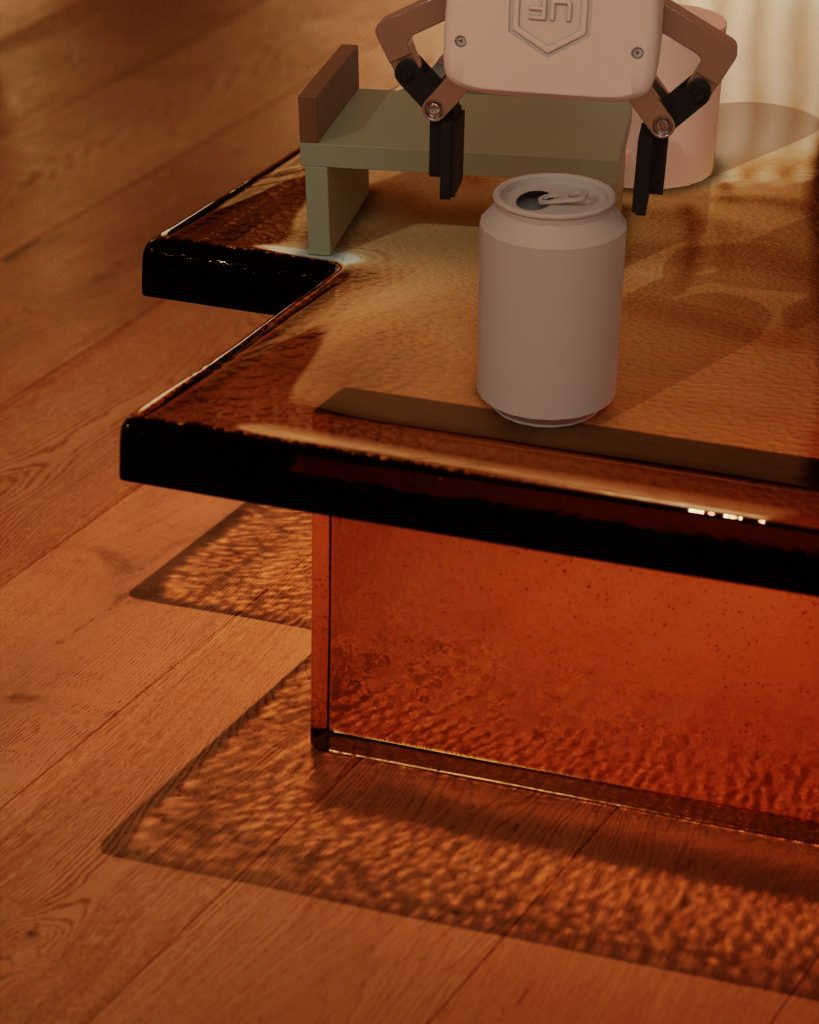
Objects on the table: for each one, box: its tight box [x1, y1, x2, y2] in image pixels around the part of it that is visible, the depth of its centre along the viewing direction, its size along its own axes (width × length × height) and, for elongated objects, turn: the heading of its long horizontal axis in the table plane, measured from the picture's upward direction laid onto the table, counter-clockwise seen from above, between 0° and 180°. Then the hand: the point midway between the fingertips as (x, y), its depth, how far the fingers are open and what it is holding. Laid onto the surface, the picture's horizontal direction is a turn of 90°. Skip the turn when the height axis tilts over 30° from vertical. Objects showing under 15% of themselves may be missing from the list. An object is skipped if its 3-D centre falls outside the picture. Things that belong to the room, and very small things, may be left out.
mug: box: [624, 3, 728, 190], centre depth 115 cm, size 14×10×11 cm
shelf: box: [297, 43, 633, 257], centre depth 105 cm, size 20×12×10 cm, turn 79°
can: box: [476, 173, 628, 429], centre depth 84 cm, size 8×8×12 cm
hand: (545, 198), depth 81 cm, fingers open, 9 cm apart
